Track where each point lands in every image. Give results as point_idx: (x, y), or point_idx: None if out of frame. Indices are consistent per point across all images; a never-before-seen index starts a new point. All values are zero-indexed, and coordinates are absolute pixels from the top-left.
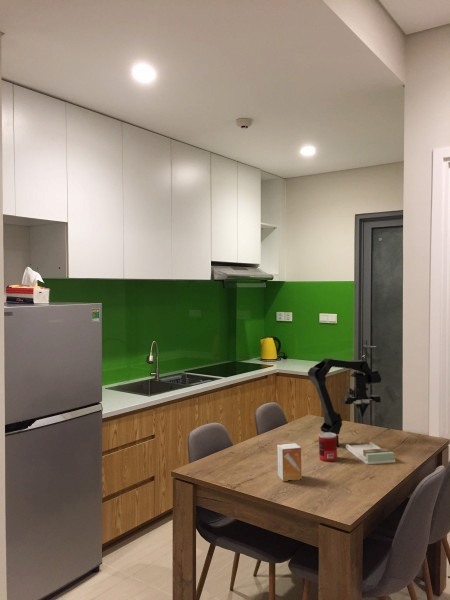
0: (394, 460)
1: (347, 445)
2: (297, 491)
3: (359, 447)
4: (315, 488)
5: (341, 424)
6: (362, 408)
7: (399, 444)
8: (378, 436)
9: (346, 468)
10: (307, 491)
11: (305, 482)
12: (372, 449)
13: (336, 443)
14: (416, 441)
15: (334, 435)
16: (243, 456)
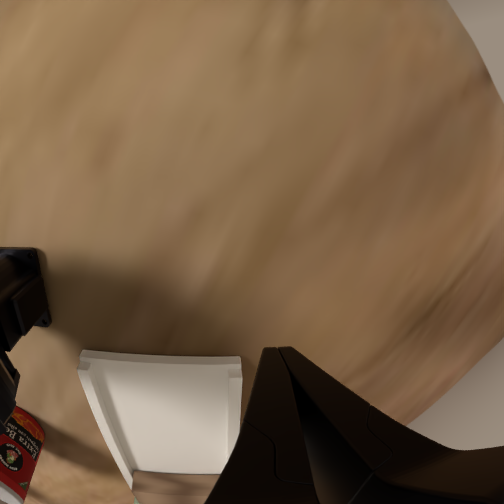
0: None
1: (83, 386)
2: None
3: (147, 396)
4: (26, 496)
5: (9, 412)
6: (323, 482)
7: (391, 347)
8: (395, 175)
9: (75, 480)
10: None
11: None
12: (169, 496)
13: (29, 483)
14: (470, 313)
15: (16, 501)
16: None
